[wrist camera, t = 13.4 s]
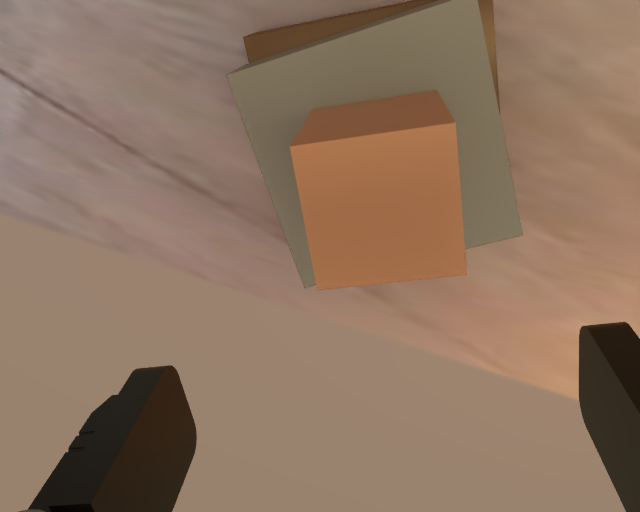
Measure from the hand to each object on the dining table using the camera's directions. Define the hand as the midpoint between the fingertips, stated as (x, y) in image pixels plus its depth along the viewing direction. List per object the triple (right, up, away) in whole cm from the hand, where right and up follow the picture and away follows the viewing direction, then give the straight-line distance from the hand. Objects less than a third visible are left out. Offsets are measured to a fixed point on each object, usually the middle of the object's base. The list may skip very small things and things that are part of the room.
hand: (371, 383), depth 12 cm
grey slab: (+2, +9, +19) cm, 21 cm away
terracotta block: (+2, +7, +15) cm, 17 cm away
